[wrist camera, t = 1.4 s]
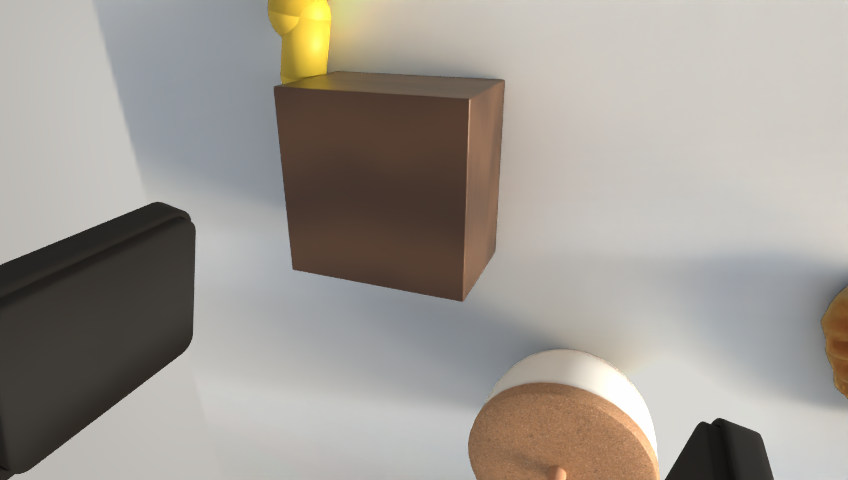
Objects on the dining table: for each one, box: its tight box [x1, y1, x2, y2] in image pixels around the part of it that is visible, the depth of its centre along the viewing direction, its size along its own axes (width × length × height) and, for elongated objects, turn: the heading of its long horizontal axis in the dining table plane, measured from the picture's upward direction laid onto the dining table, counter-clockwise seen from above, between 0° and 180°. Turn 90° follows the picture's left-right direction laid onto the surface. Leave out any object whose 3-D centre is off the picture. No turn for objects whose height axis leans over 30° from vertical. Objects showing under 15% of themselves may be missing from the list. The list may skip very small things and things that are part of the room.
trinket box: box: [468, 349, 660, 480], centre depth 34 cm, size 11×11×9 cm
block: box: [274, 71, 505, 302], centre depth 33 cm, size 11×11×7 cm
